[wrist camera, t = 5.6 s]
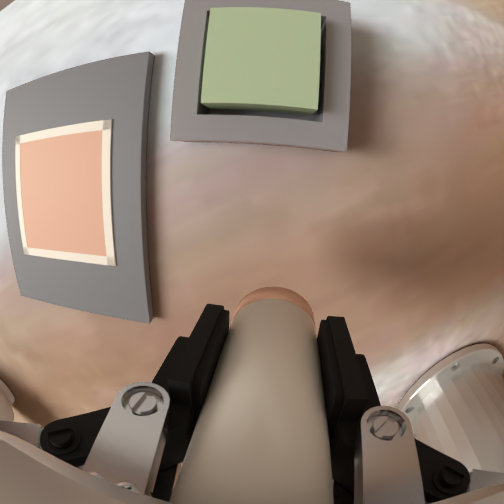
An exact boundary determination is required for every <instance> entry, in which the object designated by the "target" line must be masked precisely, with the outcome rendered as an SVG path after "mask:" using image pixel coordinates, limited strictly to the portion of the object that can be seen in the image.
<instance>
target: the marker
mask: <svg viewBox="0 0 504 504" xmlns="http://www.w3.org/2000/svg"><path fill="white" fill-rule="evenodd" d="M169 502H171V503H174V504H334V499H333V482H332V468H331V455H330V444H329V433H328V424H327V415H326V406H325V397H324V388H323V380H322V372H321V364H320V357H319V349H318V342H317V334H316V327H315V321H314V315H313V312H312V309H311V307H310V305H309V304H308V303H307V301H306V300H305V299H304V298H303V297H302V296H300V295H299V294H297V293H296V292H294V291H292V290H289V289H286V288H281V287H265V288H260V289H257V290H255V291H253V292H251V293H249V294H248V295H246V296H245V297H244V298H243V299H242V300H241V301H240V302H239V304H238V305H237V307H236V309H235V312H234V315H233V318H232V321H231V324H230V327H229V331H228V334H227V337H226V340H225V343H224V346H223V349H222V352H221V355H220V358H219V360H218V363H217V366H216V369H215V372H214V375H213V378H212V381H211V384H210V387H209V390H208V393H207V396H206V399H205V402H204V405H203V407H202V410H201V412H200V414H199V417H198V420H197V423H196V426H195V429H194V432H193V435H192V438H191V441H190V443H189V446H188V449H187V452H186V455H185V458H184V461H183V464H182V467H181V469H180V472H179V475H178V478H177V481H176V484H175V487H174V490H173V493H172V495H171V498H170V501H169Z"/></svg>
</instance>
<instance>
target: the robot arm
mask: <svg viewBox="0 0 504 504" xmlns="http://www.w3.org/2000/svg"><path fill="white" fill-rule="evenodd" d="M228 331H229V311H228V310H224V306H221V305H213V304H207V305H206V307H205V309H204V311H203V312H202V314H201V316H200V318H199V320H198V322H197V324H196V326H195V327H194V329H193V331H192V333H191V335H190V337H189V338H188V337H182V336H180V337H178V339H177V340H176V342H175V343H174V345H173V347H172V348H171V350H170V352H169V354H168V355H167V357H166V359H165V360H164V362H163V364H162V366H161V367H160V369H159V371H158V372H157V374H156V376H155V378H154V379H153V381H152V383H150V382H137V383H132V384H130V385H127V386H126V387H124V388H123V389H121V390H120V392H119V393H118V394H117V396H116V398H115V400H114V402H113V404H112V406H111V407H109V408H105V409H101V410H97V411H94V412H90V413H86V414H82V415H78V416H73V417H69V418H65V419H60V420H56V421H53V422H51V423H49V424H48V425H46V426H45V427H44V428H42V426H41V425H40V424H32V423H20V422H10V421H2V420H0V504H174V503H171V502H169V501H170V498H171V495H172V493H173V490H174V487H175V484H176V481H177V478H178V475H179V472H180V469H181V466H182V462H183V461H184V458H185V455H186V452H187V449H188V446H189V443H190V441H191V438H192V435H193V432H194V429H195V426H196V423H197V420H198V417H199V414H200V412H201V410H202V407H203V405H204V402H205V399H206V396H207V393H208V390H209V387H210V384H211V381H212V378H213V375H214V372H215V369H216V366H217V363H218V360H219V358H220V355H221V352H222V349H223V346H224V343H225V340H226V337H227V334H228ZM317 342H318V349H319V357H320V364H321V372H322V380H323V388H324V397H325V406H326V415H327V424H328V433H329V444H330V455H331V468H332V482H333V499H334V504H504V379H503V378H502V375H503V371H504V358H503V356H502V354H501V353H500V352H499V350H498V349H497V348H496V347H494V346H493V345H491V344H484V343H483V344H475V345H472V346H469V347H466V348H463V349H461V350H459V351H457V352H455V353H453V354H451V355H450V356H448V357H446V358H445V359H443V360H441V361H440V362H439V363H437V364H436V365H435V366H433V367H432V368H431V369H430V370H428V371H427V372H426V373H425V374H424V375H423V376H421V377H420V378H419V379H418V380H417V382H416V383H415V384H414V385H413V386H412V387H411V388H410V389H409V390H408V392H407V393H406V394H405V395H404V397H403V398H402V400H401V402H400V403H399V405H398V407H397V409H396V408H393V407H390V406H381V405H380V401H379V398H378V395H377V392H376V389H375V385H374V382H373V379H372V376H371V373H370V370H369V367H368V364H367V361H366V358H365V356H364V355H363V354H356V353H355V350H354V347H353V343H352V340H351V337H350V334H349V331H348V328H347V325H346V322H345V319H344V317H334V316H328V317H327V319H326V320H321V323H320V327H319V332H318V337H317Z"/></svg>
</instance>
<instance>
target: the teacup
mask: <svg viewBox="0 0 504 504" xmlns="http://www.w3.org/2000/svg"><path fill="white" fill-rule="evenodd" d="M14 401H15V399H14V396H13V395H12V393H11V391H10V390H9V388H8V387H7V386H6V385H5V383H4V382H3V381H2V380H1V379H0V420H2V421H10V422H13V420H14V413H13V409H12V407H11V404H13V403H14Z"/></svg>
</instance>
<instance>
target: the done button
mask: <svg viewBox="0 0 504 504" xmlns="http://www.w3.org/2000/svg"><path fill="white" fill-rule="evenodd" d="M320 46H321V13H317V12H310V11H301V10H292V9H279V8H261V7H221V8H210V16H209V24H208V32H207V41H206V50H205V59H204V70H203V81H202V93H201V103H202V104H203V105H205V106H206V107H208V108H209V109H232V110H256V111H272V112H284V113H294V114H304V115H312V114H313V113H314V112H316V111H317V110H318V97H319V76H320Z"/></svg>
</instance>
